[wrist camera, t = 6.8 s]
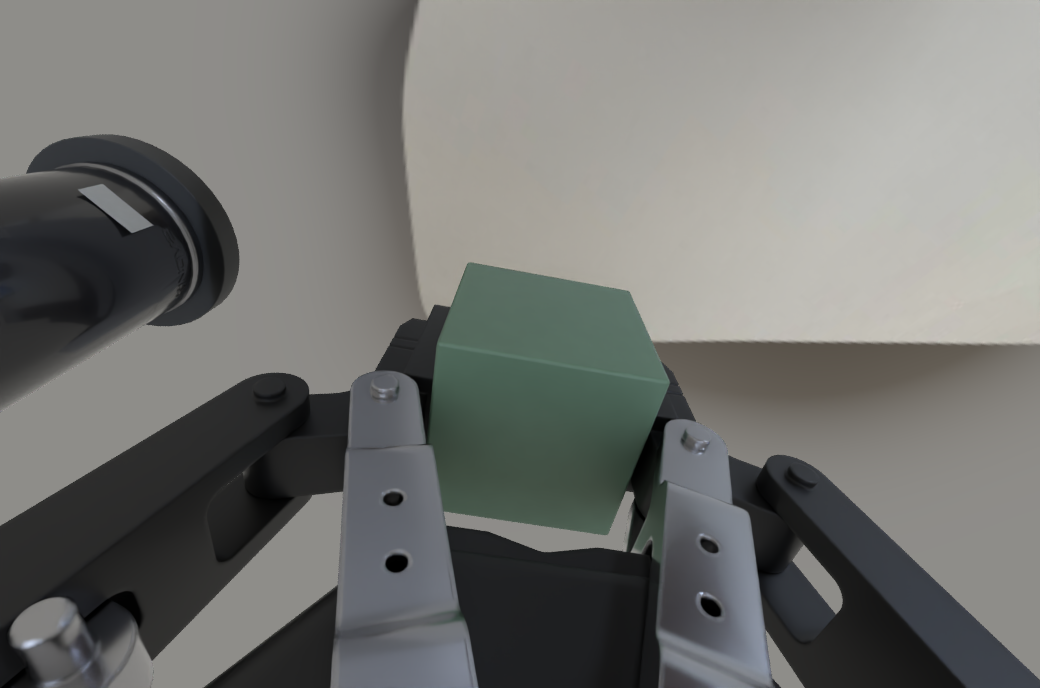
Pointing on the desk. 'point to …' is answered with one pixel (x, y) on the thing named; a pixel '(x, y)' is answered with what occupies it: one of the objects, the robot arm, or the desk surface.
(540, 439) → the block
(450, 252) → the desk surface
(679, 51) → the desk surface
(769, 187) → the desk surface
